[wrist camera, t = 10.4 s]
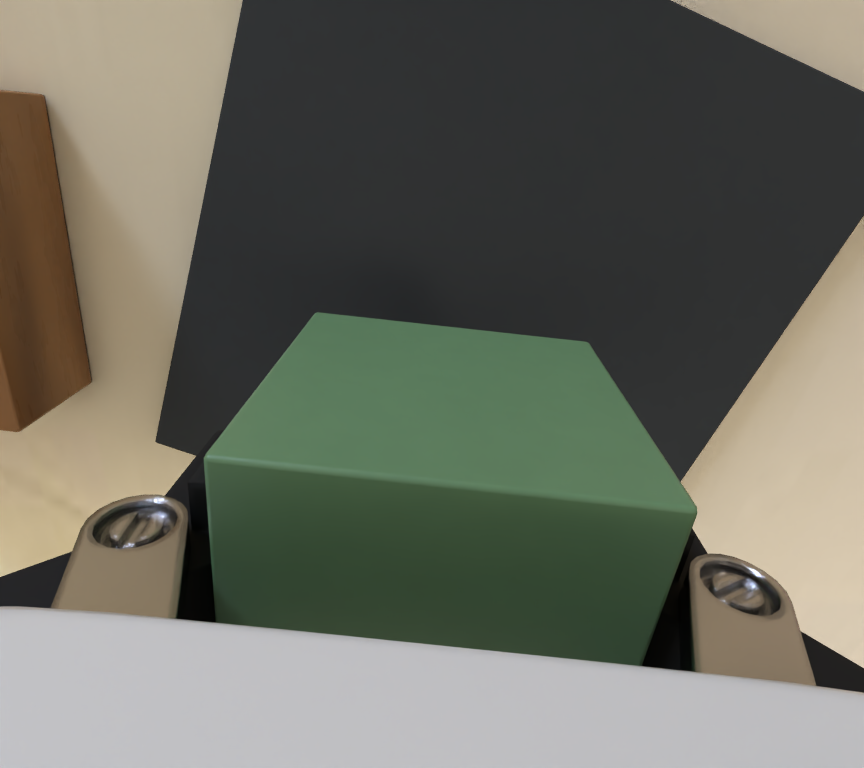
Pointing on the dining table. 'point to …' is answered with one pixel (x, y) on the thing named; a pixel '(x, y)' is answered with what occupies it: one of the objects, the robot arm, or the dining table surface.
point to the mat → (516, 194)
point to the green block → (444, 495)
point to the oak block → (34, 272)
